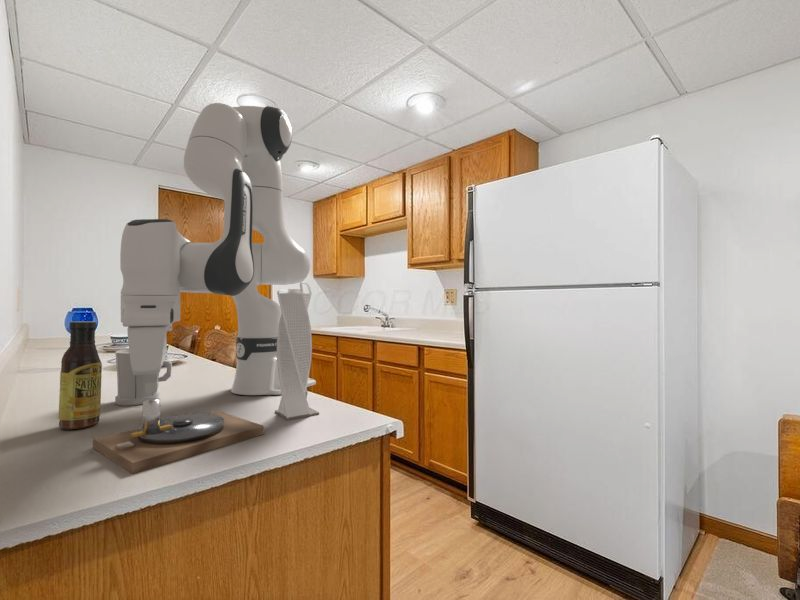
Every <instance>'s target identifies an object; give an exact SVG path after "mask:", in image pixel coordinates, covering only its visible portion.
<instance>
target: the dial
mask: <svg viewBox="0 0 800 600" xmlns="http://www.w3.org/2000/svg"><path fill="white" fill-rule="evenodd" d="M223 427H224V418H223V417H221V416H218V415H214V414H205V413H185V414H179V415H178V414H177V415H172V416H166V417H163V418H161V398H160V397H159V398H149V399H145V400H143V404H142V424H141V426H140V427H138V428H139V429H138V428H137V429H138V432H135V433H131V436H132V437H137V436H138V439H139V440H141V441H143V442H147V443H158V444H164V443H178V442H186V441H191V440H196V439H200V438H204V437H207V436H210V435H213V434H215V433H217V432H219V431H220V430H222V429H223Z"/></svg>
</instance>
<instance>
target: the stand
mask: <svg viewBox="0 0 800 600" xmlns="http://www.w3.org/2000/svg"><path fill="white" fill-rule="evenodd" d="M204 414H214V415H218V416H221V417H223V418H224V427H223V429H222V430H220V431H219V432H217V433H215V434H213V435H210V436H207V437H204V438H200V439H196V440H191V441H186V442H178V443H164V444H158V443H147V442H143V441H141V440H139V439H138V436H137V437H132V436H131V433H135V432H138V429H139V428H140V427H138V428H135V429H129V430H125V431H120V432H117V433H112V434H108V435H101V436H98V437H95V438H92V449H94V450H96V451H97V452H99V453H100V454H102V455H103V456H104V457H106V458H108V459H109V460H110V461H113V462H114V463H116V464H117V465H119V466H120V467H122V468H123V469H125V470H127V471H128V472H129V473H131V474H133V475H134V474H136V473H139V472H142V471H146V470H149V469H152V468H156V467H158V466H159V467H160V466H162V465H166V464H170V463H173V462H176V461H178V460H182V459H186V458H190V457H193V456H195V455H200V454H202V453H205V452H209V451H212V450H216V449H219V448H222V447H225V446H228V445H232V444H235V443H239V442H243V441H245V440H249V439H253V438H256V437H258V436H262V435H264V434H265V426H264V425H262V424H260V423H258V422H257V423H256V422H252V421H250V420H247V419H244V418H240V417H237V416H235V415H231V414H229V413H225V412H222V411H219V410H215V411H209V412H206V413H204Z"/></svg>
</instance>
